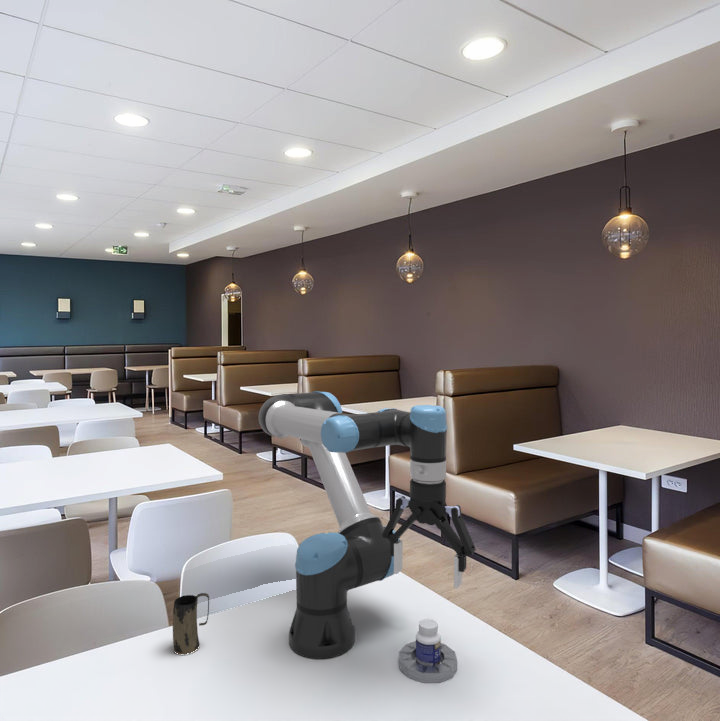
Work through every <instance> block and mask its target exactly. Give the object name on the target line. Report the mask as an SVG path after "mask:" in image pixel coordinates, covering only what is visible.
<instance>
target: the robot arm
mask: <svg viewBox="0 0 720 721" xmlns="http://www.w3.org/2000/svg"><path fill="white" fill-rule="evenodd" d="M258 423H259V426H260V427H261V429H262V430H263V432H265V433H266V434H268V435H269V436H272V437H276V438H280V439H285V438H288V437H291V438H295V439H299V441H300V443H301V445H302V446H304V447H306V448H308V449H309V452H310V453H311V456H312V458H313V459H312V460H313V462H314V464H315V467H316V469H317V472H318V474H319V478H320V479H321V482H322V484H323V485H322V486H323V487H324V490H325V492H326V495H327V498H328V500H329V503H330V505H331V508H332V510H333V514H334V516H335V518H336V520H337V523H338V526H339V530H338V532H330V531H329V532H327V533H325V532H322V533H321V532H320V533H316V534H313V535H310V536H309V537H307V538H305V539H303V540H302V541H301V543H300V544H299V545H298V547H297V549H296V556H295V563H294V567H295V576H296V577H295V581H296V582H295V583H296V584H295V585H296V586H295V589H296V591H295V592H296V596H295V597H296V609H295V612H294V614H293V617H292V620H291V623H290V624H291V625H290V627H289V632H288V644H289V647H290V648H291V650H292V651H294V653H296V654H298V655H300V656H303V657H306V658H309V659H310V658H311V659H329V658H334V657H338V656H340V655H342V654H344V653H346V652H348V651H349V650H350V649H351V648H352V647H353V646H354V644H355V642H356V640H355V639H356V637H355V636H356V631H355V626H354V623H353V621H352V617H351V613H350V611H349V608H348V591H349V590H353V589H355V588H356V589H357V588H361V587H363V586H366V585H368V584H373V583H375V582H381V581H384V580H385V579H386V578H389V577H392V576H394V575H398V574H399V573H400V572H401V571H403V542H404V541H403V540H402V539H400V538H401V537H402V536H403V535H404V534H405V532H406V531H408V529H409V528H410V527H412V525H413V524H414V523H415V522H418V524H423V525H424V524H426V525H428V526H436V527H437V529H438V530H440V531H441V533H442V534H443V535H444V536H443V537H445V538H446V540H447V542H448V544H450V546H451V547H452V549H453V550H454V552H455V553H456V554H455V555H454V557H453V588H454V589H458V588H460V586H461V585H462V582H463V581H462V580H463V578H462V577H463V573H465V570H466V569H467V556H469V557H471V556H473V554H474V553H475V552H476V551H477V550H476V549H477V548H476V546H475V544H474V541H473V540H472V537H471V534H470V532H469V530H468V528H467V526H466V523H465V521H464V518H463V515H462V509H461V506H460V505H459V504H457V505H455V506H451V505H450V506H449V505H447V502H446V500H447V499H446V498H447V495H446V494H447V482H446V481H445V479H447V433H448V432H447V430H448V425H447V412H446V409H445V408H444V407H443V406H441V405H435V404H434V405H432V404H418V405H417V404H416V405H413V406H412V407H411V408H410V411H406V410H401V409H398V408H393V407H392V408H387V407H385V408H380V409H379V410H378V411H376V412H367V413H355V414H349V413H343V409H342V406H341V403H340V402H339V400H338V398H337V397H336V396H335V395H334V394H332V393H331V392H327V391H318V390H316V391H315V390H314V391H311V392H296V393H282V394H281V393H280V394H276V395H274V396H272V397H270V398H268V399H267V400H266V401H265V402H264V403H263V404H262V406H261V407H260V409H259V412H258ZM394 445H395V446H396V445H398V446H402V447H406V448H410V449H409V451H410V454H409V459H410V463H409V464H410V466H409V476H410V478H411V479H410V480H409V498H410V499H407V498H406V497H405V496H403V495H402V496H400V497H399V498H397V499H396V500H395V508H394V509H393V512H392V514H391V516H390V518H389V520H388V522H387V525H383V523H382V520H381V518H380V517H379V516H377V515H375V514H373V513H371V510H370V508H369V506H368V504H367V501H366V499H365V496H364V492H363V491H362V489H361V487H360V485H359V482H358V479H357V477H356V475H355V473H354V470H353V468H352V466H351V463H350V461H349V458H348V455H347V454H346V453H348V452H354V451H359V450H366V449H374V448H381V447H386V446H387V447H388V446H394ZM407 507H408V508H409V510H410V512H411V514H410V515H409V517H407V519H406V520H405V521H404V522H403V523H402V525H401V526H399V528H398V529H397V530H395V528H396V526H397V525H398V522H399V520H400V518H401V516H402V514H403V512H404V510H405V509H407ZM446 513H447V514H448V516H449V517H450V518H451V521H452V523H453V525H454V528H455V530H456V532H457V533H456V532H455V531H454V529H453V528H452V526H451V525H450V523H449V520H448V518H447V517H446V516H445V515H446Z"/></svg>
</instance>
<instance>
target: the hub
mask: <svg viewBox="0 0 720 721" xmlns="http://www.w3.org/2000/svg"><path fill="white" fill-rule="evenodd" d="M414 659H416V640H415V641H411V642H409V643H406V644H404V646H403V647H402V648H401V649H400V650H399V651H398V664H399V670H400V671H401V672H402V673H403V674H404V675H406V677H408V678H409V679H411V680H414V681H417V682H420V683H423V684H435V683H436V684H437V683H438V684H440V683H442V682H445V681H447V680H450V679H452V678H453V677H454V676H455V674H456V673H457V670H458V659H457V654H456V651H455V650H454V649H452V648H451V647H449V645H447V644H445V643H442V642H441V662H440V664H438V665H435V666H425V665H421V664H418V663H416V660H414Z"/></svg>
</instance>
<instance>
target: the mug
mask: <svg viewBox="0 0 720 721" xmlns="http://www.w3.org/2000/svg"><path fill="white" fill-rule="evenodd" d="M200 597H207V614H206V621H205V622H199V624H198V598H200ZM172 611H173V612H172V643H173V652H174V651H175V652H176V653H178V654H187V653H191V652H193V651H195V650H196V649H198V647H199V646H200V641H199V632H198V626H205V625H207V623H208V619H209V613H210V595H209V594H208V593H206V592H200V593H199V594H197V595H193V594H186V595H182V596H181V595H180V596H179V597H177V598H176V599H175V600H174V602H173V610H172ZM199 648H200V647H199ZM198 650H199V649H198ZM175 652H174V653H175ZM176 653H175V654H176Z"/></svg>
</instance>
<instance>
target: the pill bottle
mask: <svg viewBox="0 0 720 721" xmlns="http://www.w3.org/2000/svg"><path fill="white" fill-rule="evenodd" d="M438 628H439V626H438V622H437V621H436V620H434V619H431V618H425V619H421V620H420V621H419V622H418V631H417V632H416V634H415V641H416V658H415V662H416V663H418V664H421V665H425V666H435V665H438V664H440V663H442V661H441V643H442V641H441V640H442V639H441V635H440V633H439V632H438Z"/></svg>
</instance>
